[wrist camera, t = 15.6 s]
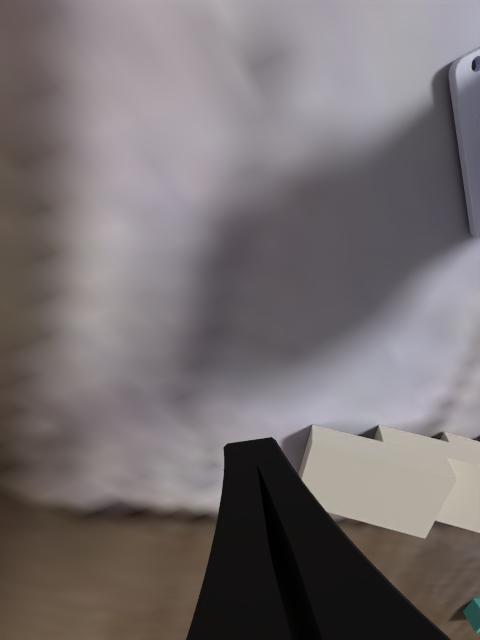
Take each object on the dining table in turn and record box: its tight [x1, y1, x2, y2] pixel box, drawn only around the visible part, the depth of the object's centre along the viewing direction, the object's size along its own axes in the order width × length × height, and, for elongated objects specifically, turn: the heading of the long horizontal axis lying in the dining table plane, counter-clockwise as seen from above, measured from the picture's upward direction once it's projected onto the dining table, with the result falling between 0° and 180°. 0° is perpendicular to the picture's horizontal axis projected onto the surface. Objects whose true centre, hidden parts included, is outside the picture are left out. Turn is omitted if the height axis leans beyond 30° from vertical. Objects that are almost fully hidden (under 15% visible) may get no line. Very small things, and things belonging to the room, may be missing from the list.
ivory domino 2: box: [373, 425, 480, 533], centre depth 22 cm, size 2×5×8 cm
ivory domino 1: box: [298, 425, 457, 538], centre depth 21 cm, size 2×5×8 cm
